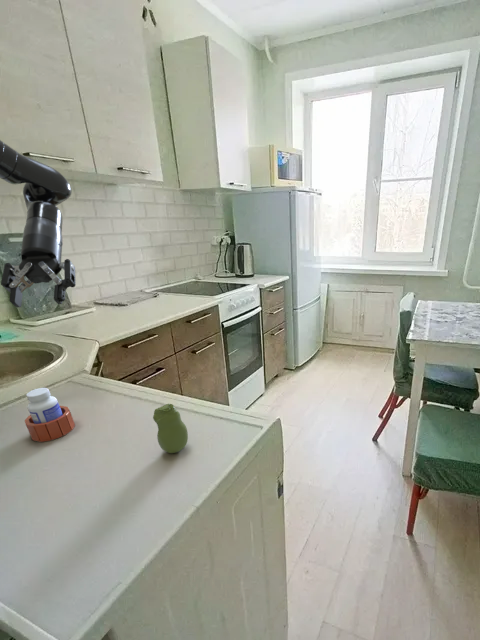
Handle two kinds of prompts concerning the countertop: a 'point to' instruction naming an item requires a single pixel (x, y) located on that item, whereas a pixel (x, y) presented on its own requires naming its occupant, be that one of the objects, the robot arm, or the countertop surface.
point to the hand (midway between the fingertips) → (37, 303)
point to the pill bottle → (43, 406)
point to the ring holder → (51, 427)
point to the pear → (170, 429)
